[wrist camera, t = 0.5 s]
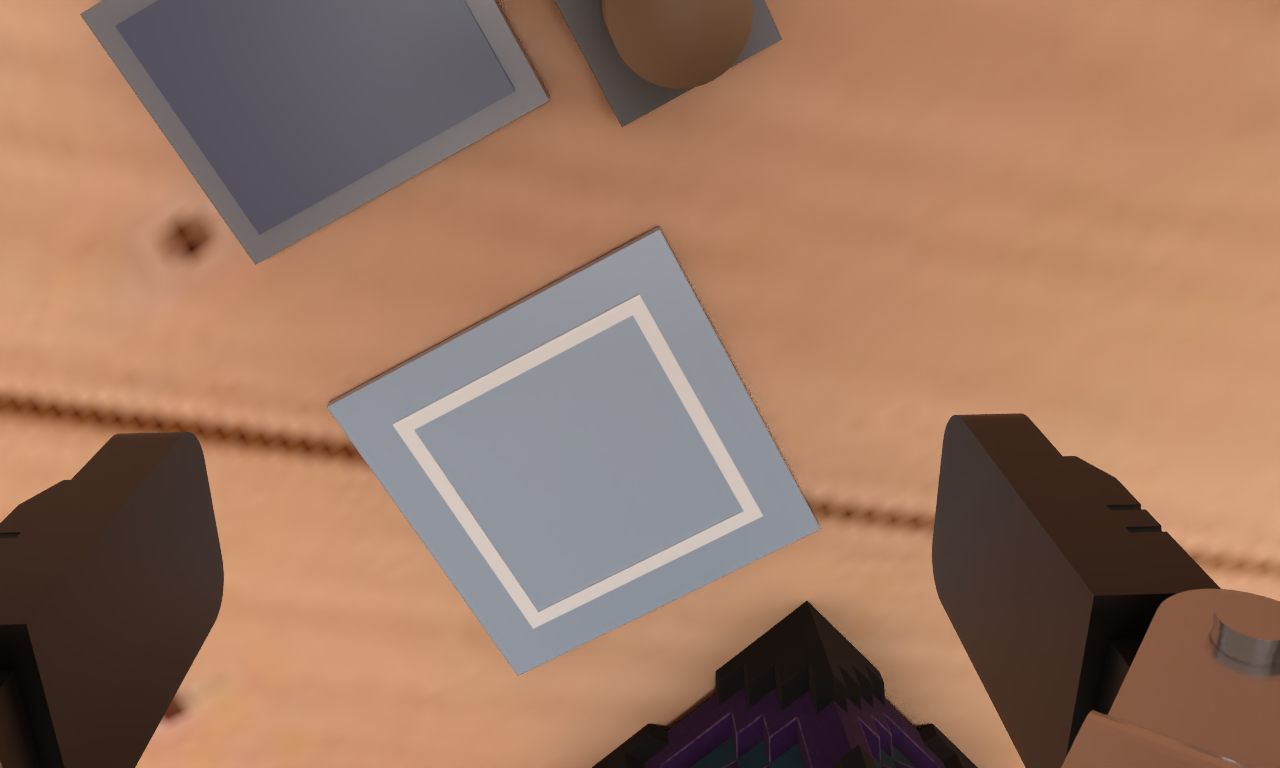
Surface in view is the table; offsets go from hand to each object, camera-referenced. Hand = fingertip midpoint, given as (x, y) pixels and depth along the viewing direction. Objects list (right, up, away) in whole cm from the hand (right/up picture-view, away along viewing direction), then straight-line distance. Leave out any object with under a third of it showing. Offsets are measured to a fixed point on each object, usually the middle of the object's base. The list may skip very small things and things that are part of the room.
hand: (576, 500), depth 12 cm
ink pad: (-8, +11, +20) cm, 24 cm away
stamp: (+1, +12, +20) cm, 23 cm away
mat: (-1, -1, +25) cm, 25 cm away
